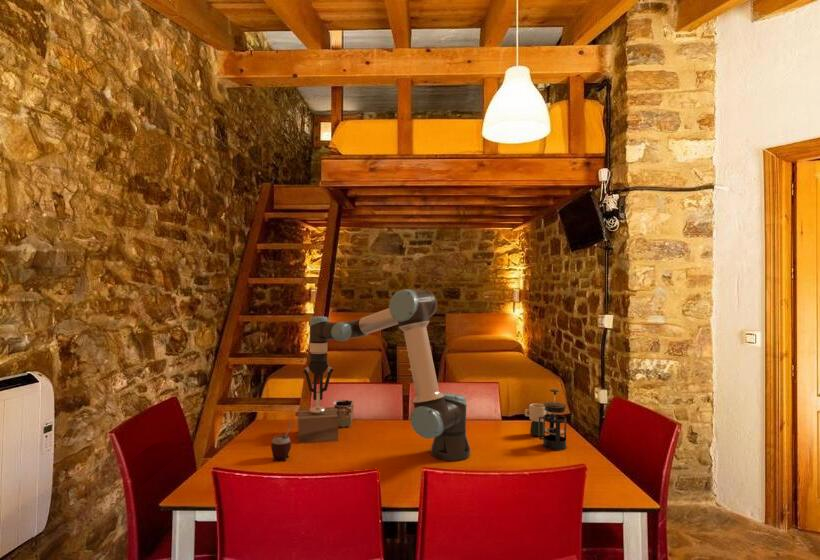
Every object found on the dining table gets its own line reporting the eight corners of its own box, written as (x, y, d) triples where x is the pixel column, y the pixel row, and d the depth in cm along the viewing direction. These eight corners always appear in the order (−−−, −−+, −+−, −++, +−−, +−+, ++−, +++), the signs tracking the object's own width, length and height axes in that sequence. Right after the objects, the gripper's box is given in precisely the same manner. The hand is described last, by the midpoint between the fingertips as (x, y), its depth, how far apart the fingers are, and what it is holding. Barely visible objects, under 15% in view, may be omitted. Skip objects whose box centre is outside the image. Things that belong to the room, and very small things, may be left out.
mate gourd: (267, 459, 178) (268, 418, 179) (286, 453, 184) (287, 414, 184) (277, 464, 173) (278, 422, 173) (296, 459, 179) (297, 418, 179)
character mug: (549, 433, 213) (549, 404, 213) (551, 438, 206) (551, 408, 206) (524, 431, 215) (524, 402, 215) (525, 436, 208) (525, 406, 208)
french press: (564, 442, 200) (564, 387, 201) (571, 450, 191) (571, 392, 191) (536, 442, 201) (536, 387, 201) (541, 450, 191) (542, 392, 192)
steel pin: (325, 436, 204) (325, 409, 204) (309, 437, 202) (310, 410, 202) (324, 432, 210) (324, 405, 210) (309, 433, 208) (309, 406, 209)
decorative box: (322, 428, 218) (322, 406, 218) (331, 416, 238) (331, 396, 238) (351, 428, 218) (351, 407, 218) (357, 416, 237) (358, 397, 238)
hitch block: (337, 440, 200) (338, 416, 200) (298, 443, 196) (298, 418, 197) (334, 429, 216) (335, 407, 216) (298, 431, 212) (298, 409, 212)
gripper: (333, 350, 212) (332, 404, 212) (302, 351, 209) (302, 406, 208) (334, 353, 205) (333, 408, 204) (303, 353, 201) (302, 410, 201)
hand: (317, 407), depth 206 cm, fingers closed
